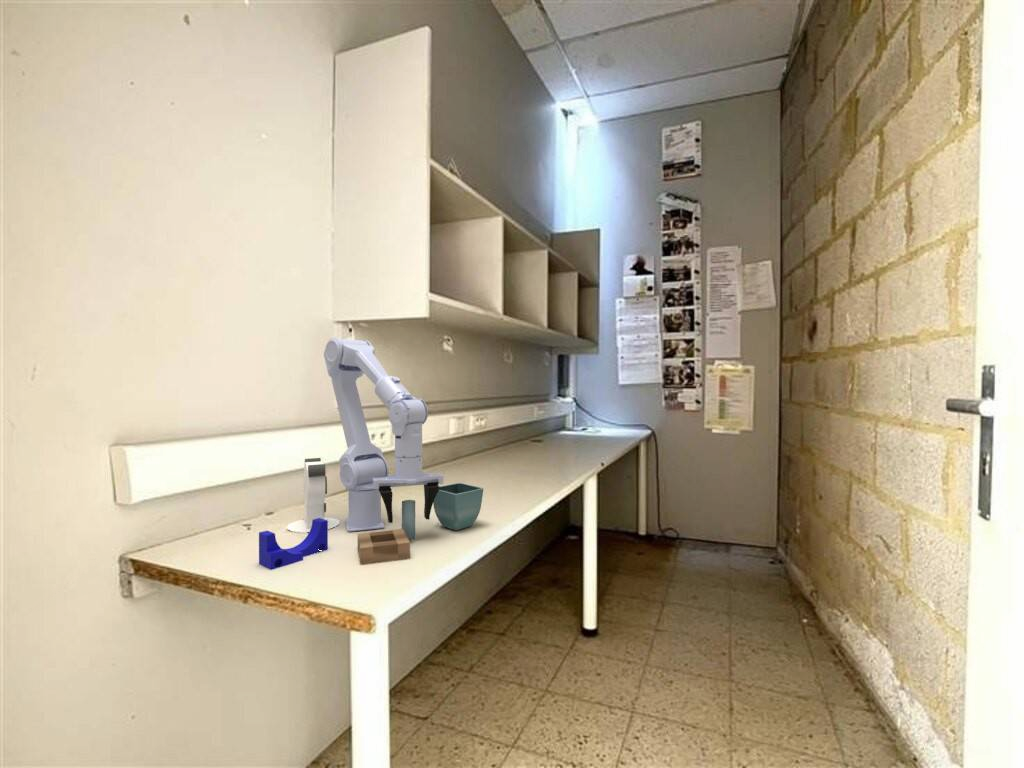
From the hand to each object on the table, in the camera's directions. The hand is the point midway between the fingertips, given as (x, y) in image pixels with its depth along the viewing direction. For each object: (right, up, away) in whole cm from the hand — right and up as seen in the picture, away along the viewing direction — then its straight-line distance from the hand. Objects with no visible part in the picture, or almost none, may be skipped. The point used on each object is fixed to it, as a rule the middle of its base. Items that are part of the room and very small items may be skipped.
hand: (408, 519), depth 104 cm
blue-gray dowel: (0, -4, 0) cm, 4 cm away
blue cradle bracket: (-19, -5, -11) cm, 22 cm away
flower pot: (+9, -4, +9) cm, 14 cm away
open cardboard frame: (-3, -4, -9) cm, 10 cm away
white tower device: (-24, -4, +9) cm, 26 cm away
